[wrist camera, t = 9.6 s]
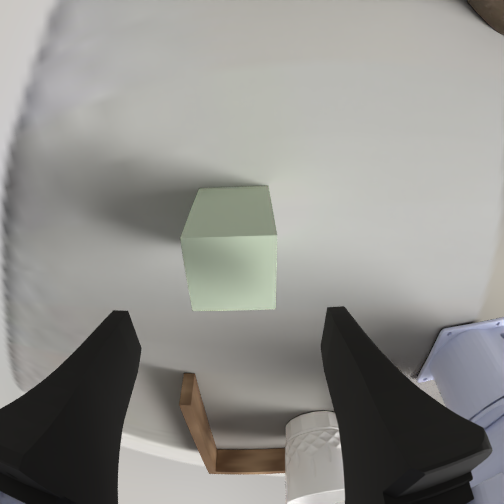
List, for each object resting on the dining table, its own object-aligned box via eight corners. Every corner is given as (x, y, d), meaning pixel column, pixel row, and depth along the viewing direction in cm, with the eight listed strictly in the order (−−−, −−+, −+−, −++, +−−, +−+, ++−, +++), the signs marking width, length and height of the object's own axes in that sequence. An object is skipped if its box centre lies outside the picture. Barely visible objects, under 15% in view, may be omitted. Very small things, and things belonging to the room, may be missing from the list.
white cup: (344, 431, 35) (356, 499, 26) (283, 440, 35) (288, 510, 27) (349, 402, 30) (367, 483, 22) (277, 413, 31) (282, 497, 22)
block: (268, 185, 18) (277, 235, 13) (268, 245, 20) (275, 309, 15) (199, 188, 18) (180, 238, 13) (205, 247, 20) (192, 311, 15)
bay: (387, 362, 27) (398, 390, 24) (348, 443, 37) (352, 464, 34) (184, 373, 27) (179, 404, 24) (210, 451, 37) (209, 473, 34)
